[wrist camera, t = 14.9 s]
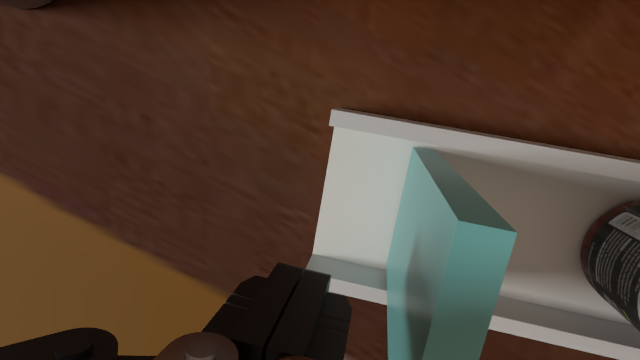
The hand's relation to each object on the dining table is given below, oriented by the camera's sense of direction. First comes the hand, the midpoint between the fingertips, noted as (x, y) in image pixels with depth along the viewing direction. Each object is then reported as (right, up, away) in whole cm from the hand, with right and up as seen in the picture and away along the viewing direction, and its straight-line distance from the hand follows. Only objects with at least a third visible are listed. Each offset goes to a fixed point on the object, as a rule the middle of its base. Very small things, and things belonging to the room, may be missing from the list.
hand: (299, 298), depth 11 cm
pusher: (+6, +2, +11) cm, 12 cm away
